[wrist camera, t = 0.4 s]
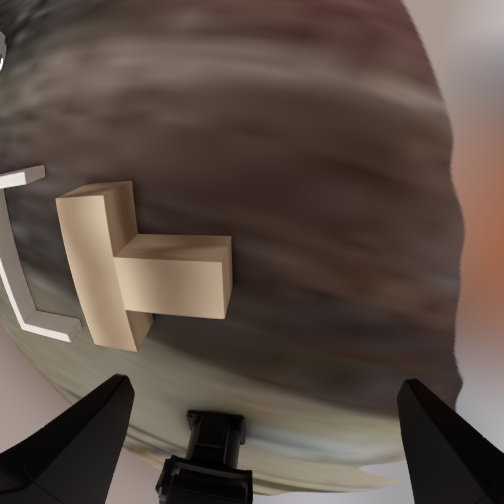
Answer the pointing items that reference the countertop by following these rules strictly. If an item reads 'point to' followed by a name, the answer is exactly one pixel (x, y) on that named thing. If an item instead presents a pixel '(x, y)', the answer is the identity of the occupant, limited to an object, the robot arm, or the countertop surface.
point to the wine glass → (2, 49)
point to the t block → (137, 266)
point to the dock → (8, 265)
